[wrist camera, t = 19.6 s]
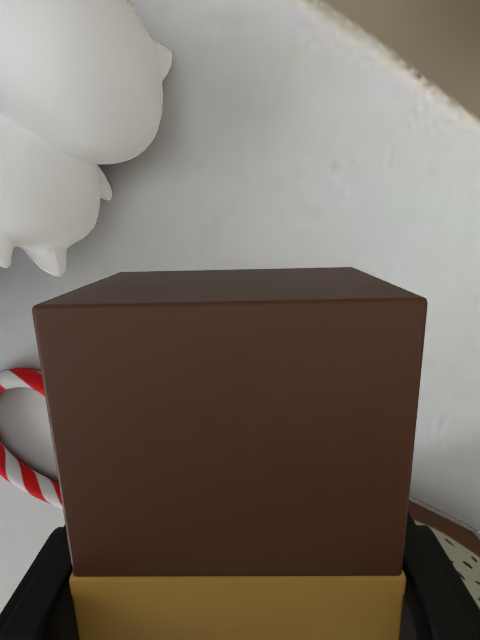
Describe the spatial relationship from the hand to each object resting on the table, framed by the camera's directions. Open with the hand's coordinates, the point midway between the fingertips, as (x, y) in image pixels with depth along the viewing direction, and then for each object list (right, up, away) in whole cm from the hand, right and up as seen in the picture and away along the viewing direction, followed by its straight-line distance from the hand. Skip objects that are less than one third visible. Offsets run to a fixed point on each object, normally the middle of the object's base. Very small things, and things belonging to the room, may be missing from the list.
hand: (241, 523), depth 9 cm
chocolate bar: (0, 0, 0) cm, 0 cm away
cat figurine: (-9, +15, +12) cm, 21 cm away
